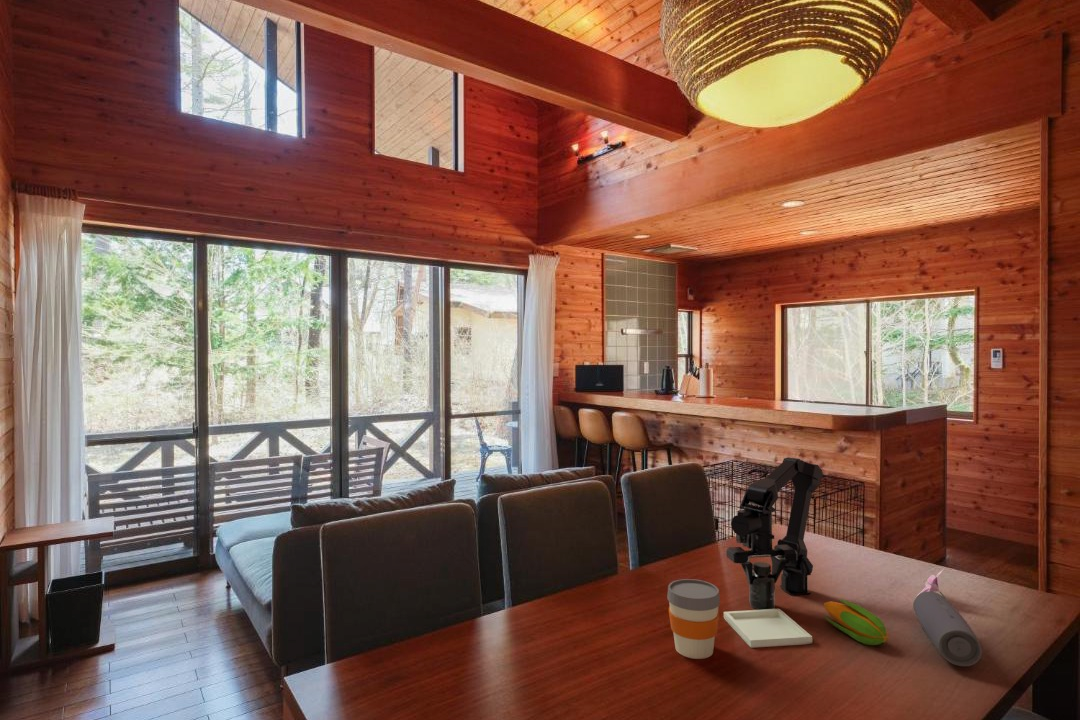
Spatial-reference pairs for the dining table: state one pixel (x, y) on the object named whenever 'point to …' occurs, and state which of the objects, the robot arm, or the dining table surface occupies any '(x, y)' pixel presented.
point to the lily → (932, 584)
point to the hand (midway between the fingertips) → (761, 583)
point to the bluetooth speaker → (947, 629)
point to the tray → (767, 628)
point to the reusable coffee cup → (693, 616)
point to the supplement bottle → (762, 587)
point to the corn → (857, 622)
